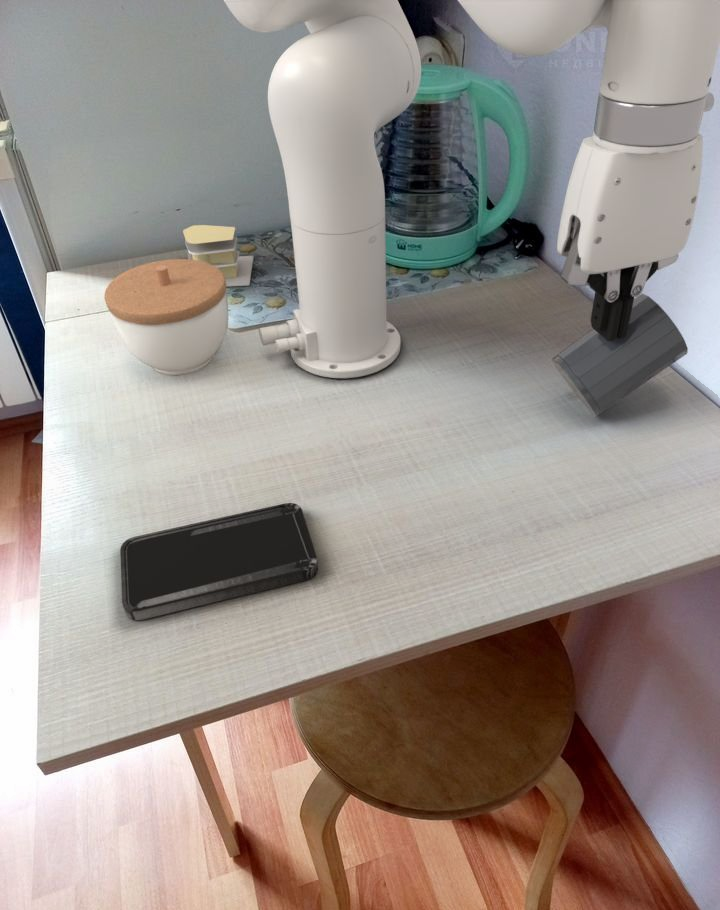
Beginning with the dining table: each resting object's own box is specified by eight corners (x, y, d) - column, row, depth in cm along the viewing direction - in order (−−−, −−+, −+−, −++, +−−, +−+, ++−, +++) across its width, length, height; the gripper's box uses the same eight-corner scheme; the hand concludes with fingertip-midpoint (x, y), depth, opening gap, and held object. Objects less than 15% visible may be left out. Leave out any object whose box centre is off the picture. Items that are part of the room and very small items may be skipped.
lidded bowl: (119, 343, 83) (92, 255, 76) (223, 320, 87) (207, 233, 80) (134, 401, 74) (106, 307, 67) (250, 372, 78) (234, 280, 71)
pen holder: (579, 388, 64) (676, 320, 62) (543, 346, 69) (632, 281, 67) (603, 428, 69) (695, 365, 67) (568, 386, 74) (652, 326, 71)
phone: (319, 567, 55) (122, 614, 52) (320, 576, 56) (126, 623, 53) (298, 499, 61) (119, 538, 58) (299, 508, 61) (123, 547, 59)
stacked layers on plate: (253, 255, 100) (248, 218, 96) (249, 285, 93) (243, 246, 90) (182, 259, 100) (174, 222, 96) (173, 289, 93) (164, 250, 90)
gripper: (699, 93, 57) (653, 298, 69) (533, 121, 54) (514, 330, 66) (767, 116, 52) (704, 335, 63) (585, 148, 49) (555, 371, 61)
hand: (607, 332), depth 65 cm, fingers closed
